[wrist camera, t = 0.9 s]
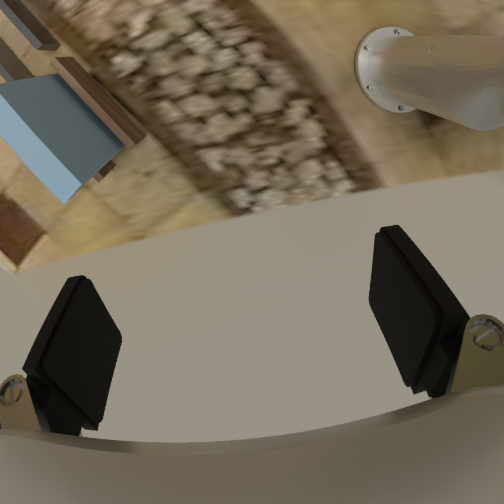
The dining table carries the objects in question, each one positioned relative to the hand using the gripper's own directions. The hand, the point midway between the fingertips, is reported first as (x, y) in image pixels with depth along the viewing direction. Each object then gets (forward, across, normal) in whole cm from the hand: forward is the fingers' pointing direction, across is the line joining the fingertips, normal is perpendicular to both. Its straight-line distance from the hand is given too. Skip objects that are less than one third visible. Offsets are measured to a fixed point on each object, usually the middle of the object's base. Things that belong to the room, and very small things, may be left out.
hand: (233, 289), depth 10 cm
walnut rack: (+32, +18, -6) cm, 37 cm away
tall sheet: (+32, +18, -6) cm, 37 cm away
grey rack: (+32, +27, -21) cm, 47 cm away
